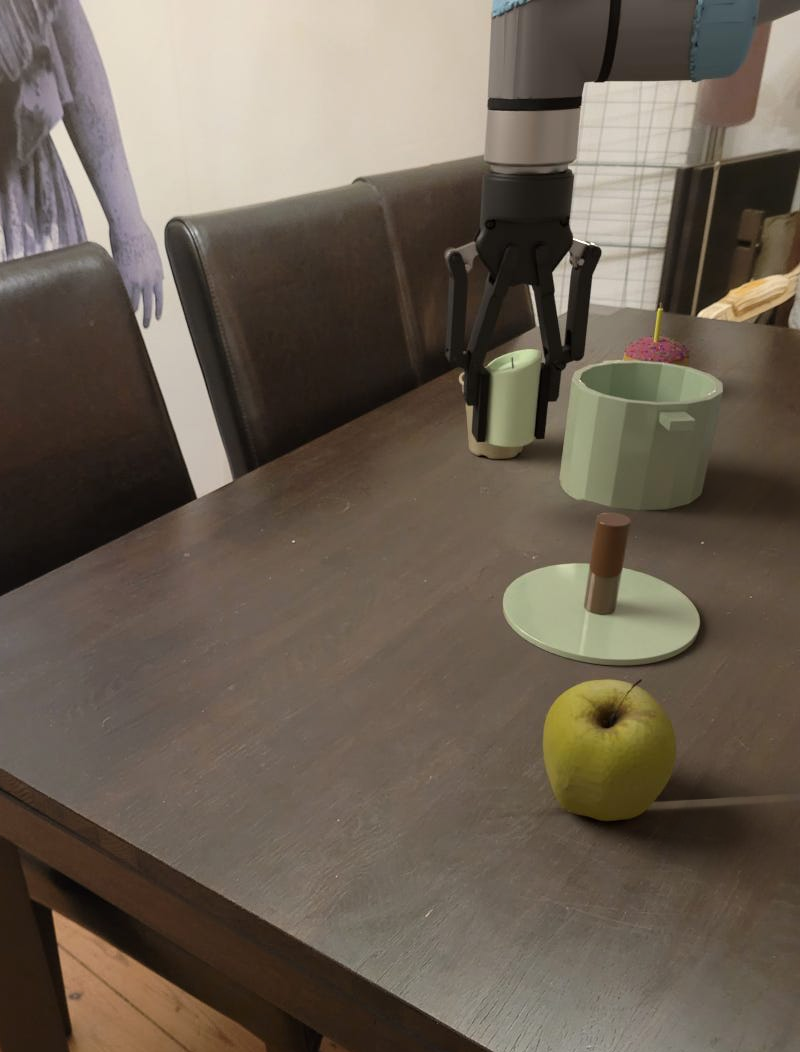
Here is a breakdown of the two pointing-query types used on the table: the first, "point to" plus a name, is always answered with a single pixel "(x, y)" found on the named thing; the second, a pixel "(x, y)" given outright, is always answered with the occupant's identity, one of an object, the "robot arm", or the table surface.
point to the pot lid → (602, 606)
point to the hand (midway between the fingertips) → (507, 435)
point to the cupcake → (657, 348)
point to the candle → (513, 398)
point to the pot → (639, 434)
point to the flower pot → (484, 447)
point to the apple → (608, 749)
